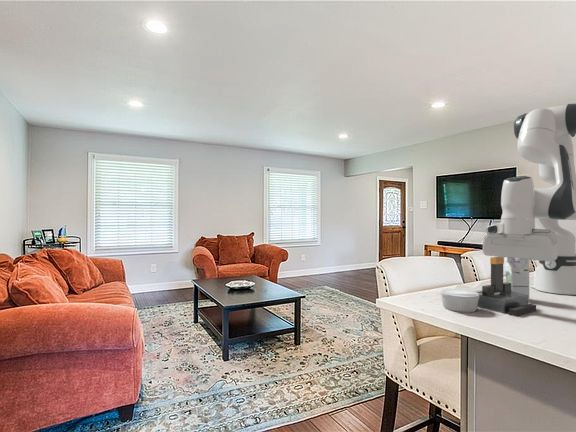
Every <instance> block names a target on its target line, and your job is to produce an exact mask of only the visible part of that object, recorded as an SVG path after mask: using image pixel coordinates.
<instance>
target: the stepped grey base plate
mask: <svg viewBox="0 0 576 432" xmlns="http://www.w3.org/2000/svg"><path fill="white" fill-rule="evenodd" d="M481 287H482V288H481V289H478V290H473V291H474V292H477V293H479V295H480V297H479V299H478V305H477V308H480V309H484V310H488V311H493V312H497V313H501V314H507V313H508V314H509V309H510V308H514V307H519V306H523V305H527V304H529V301H528V295H526V294H520V293H514V292H511V283H508V282H506V281H503V291H502V292H498V293H494V286H493V285H491V284H488V285H487V284H486V285H482V286H481Z"/></svg>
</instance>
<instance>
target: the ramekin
mask: <svg viewBox="0 0 576 432" xmlns="http://www.w3.org/2000/svg"><path fill="white" fill-rule="evenodd" d="M474 291H475V290H469V289H461V288H444V289H441V290H440V292H439V293H440V295H441V301H442V306H443V308H444V309H446V310H449V311H453V312H457V313H474V312H475V311H477V309H478V307H477V305H478V299H479V297H480V295H479V293H477V292H474Z"/></svg>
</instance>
